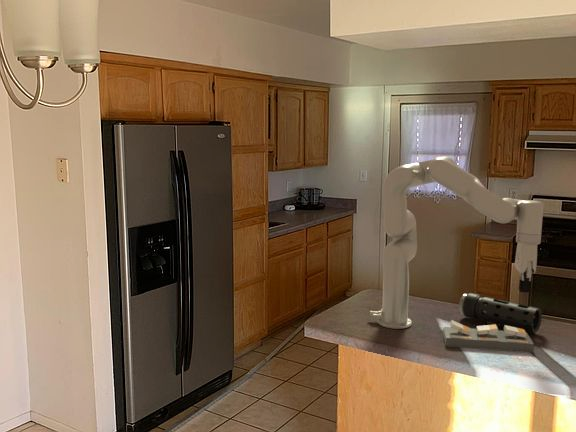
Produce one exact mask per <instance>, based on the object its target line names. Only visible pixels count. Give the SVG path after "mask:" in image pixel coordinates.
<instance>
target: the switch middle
mask: <svg viewBox="0 0 576 432" xmlns="http://www.w3.org/2000/svg"><path fill="white" fill-rule="evenodd" d="M476 329H477V332H478V334H490V333H498V330H499V328H498V326H497V324H487V325H485V324H483V325H477V326H476Z"/></svg>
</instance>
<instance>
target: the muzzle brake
mask: <svg viewBox="0 0 576 432" xmlns="http://www.w3.org/2000/svg"><path fill="white" fill-rule="evenodd" d="M458 304H459V305H458V309H459V310H458V311H459V313H460V314H461V315H463V316H464V317H466V318H469V319H473V320H476V321H477V322H479V323H483V324H487V323H490V324H492V325H494V324H496V326H497V325H498V326H500V327H501V328H504V325H507V326H511V327H516V328H520V329H524V330H525V332H527V334H528V335H531V336H534V335H536V334H537V332H538V331H539V329H540V327H541V324H542V318H543V316H542V315H543V314H542V310H541V308H539V307H534V306H529V305H525V304H519V303H516V302H511V301H508V300H502V299H497V298H493V297H488V296H483V295H481V294H478V293H473V292H469V293H463V294H462V296H461V297H460V299H459V303H458Z"/></svg>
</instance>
